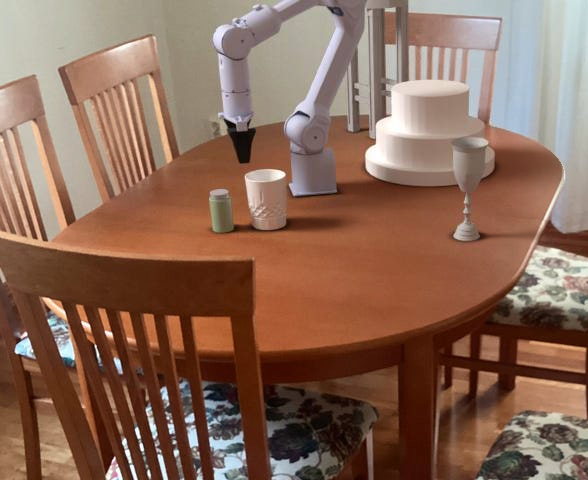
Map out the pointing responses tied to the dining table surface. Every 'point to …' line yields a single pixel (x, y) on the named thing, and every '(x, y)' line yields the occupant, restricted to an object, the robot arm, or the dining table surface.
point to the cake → (424, 134)
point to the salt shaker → (221, 211)
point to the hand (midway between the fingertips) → (242, 157)
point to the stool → (378, 64)
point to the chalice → (468, 178)
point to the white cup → (267, 198)
